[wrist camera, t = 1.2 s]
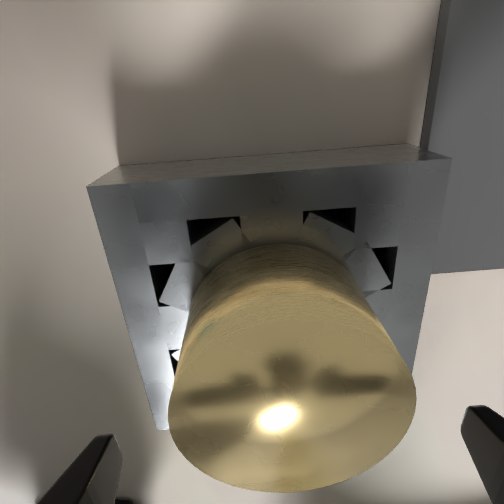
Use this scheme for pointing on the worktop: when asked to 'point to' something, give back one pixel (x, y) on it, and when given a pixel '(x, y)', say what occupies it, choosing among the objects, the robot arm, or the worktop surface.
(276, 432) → the end cover
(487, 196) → the mat
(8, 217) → the worktop surface
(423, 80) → the worktop surface
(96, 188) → the housing
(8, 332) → the worktop surface
